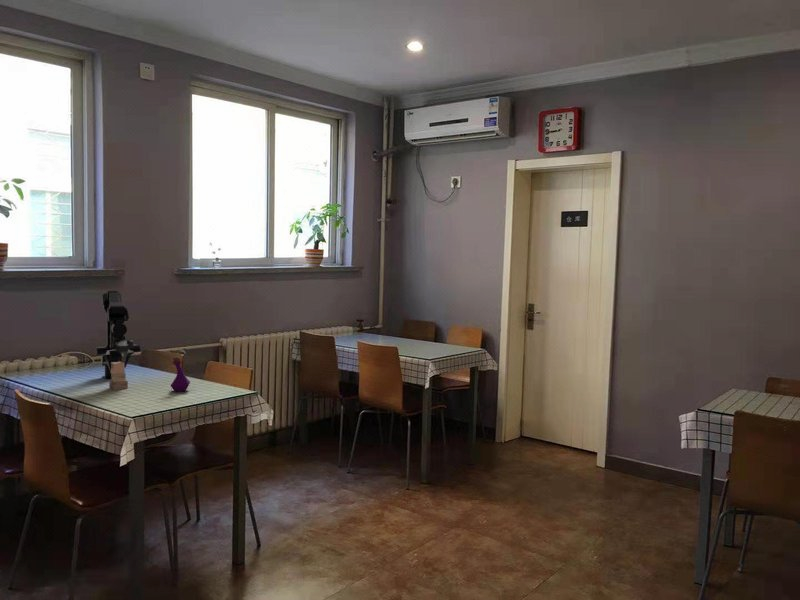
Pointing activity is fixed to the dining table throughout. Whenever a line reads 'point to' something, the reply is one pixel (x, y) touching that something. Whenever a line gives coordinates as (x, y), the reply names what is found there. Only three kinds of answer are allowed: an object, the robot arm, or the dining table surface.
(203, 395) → the dining table surface
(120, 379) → the tower mid
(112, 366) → the cube
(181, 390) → the purple faceted vase
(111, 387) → the tower base
